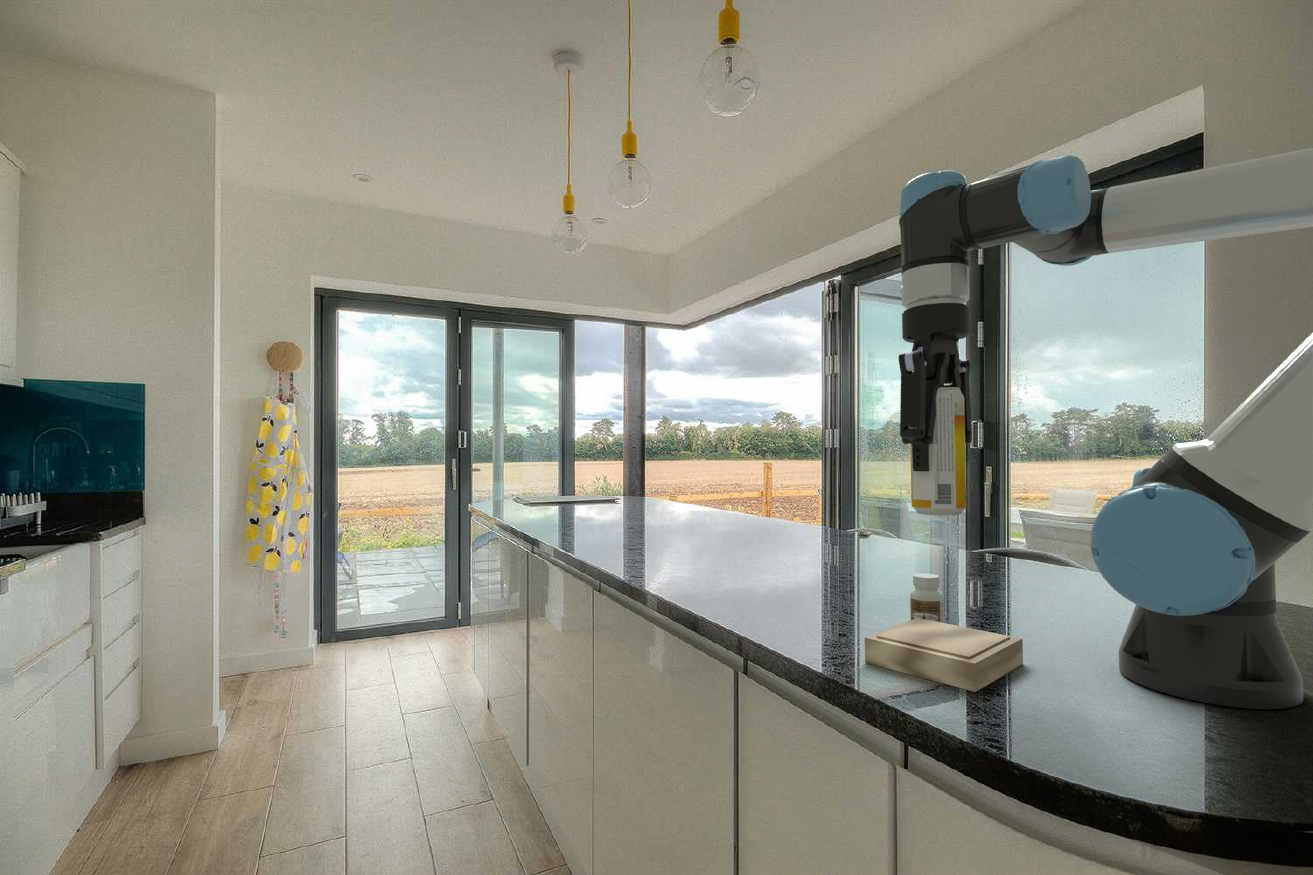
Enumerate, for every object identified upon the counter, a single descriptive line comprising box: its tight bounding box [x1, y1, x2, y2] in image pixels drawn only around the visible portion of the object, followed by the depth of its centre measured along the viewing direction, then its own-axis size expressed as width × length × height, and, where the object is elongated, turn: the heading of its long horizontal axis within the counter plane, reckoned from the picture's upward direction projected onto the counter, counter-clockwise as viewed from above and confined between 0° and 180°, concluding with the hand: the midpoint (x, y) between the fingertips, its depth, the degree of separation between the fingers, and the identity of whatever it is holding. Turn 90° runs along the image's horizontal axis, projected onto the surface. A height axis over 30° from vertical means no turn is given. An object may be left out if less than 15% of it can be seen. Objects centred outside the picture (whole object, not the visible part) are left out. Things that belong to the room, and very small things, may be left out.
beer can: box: [909, 387, 968, 517], centre depth 78 cm, size 6×6×15 cm
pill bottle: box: [909, 572, 945, 623], centre depth 91 cm, size 4×4×8 cm
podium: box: [864, 618, 1024, 693], centre depth 78 cm, size 13×13×3 cm
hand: (938, 497), depth 78 cm, fingers closed on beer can, 6 cm apart
